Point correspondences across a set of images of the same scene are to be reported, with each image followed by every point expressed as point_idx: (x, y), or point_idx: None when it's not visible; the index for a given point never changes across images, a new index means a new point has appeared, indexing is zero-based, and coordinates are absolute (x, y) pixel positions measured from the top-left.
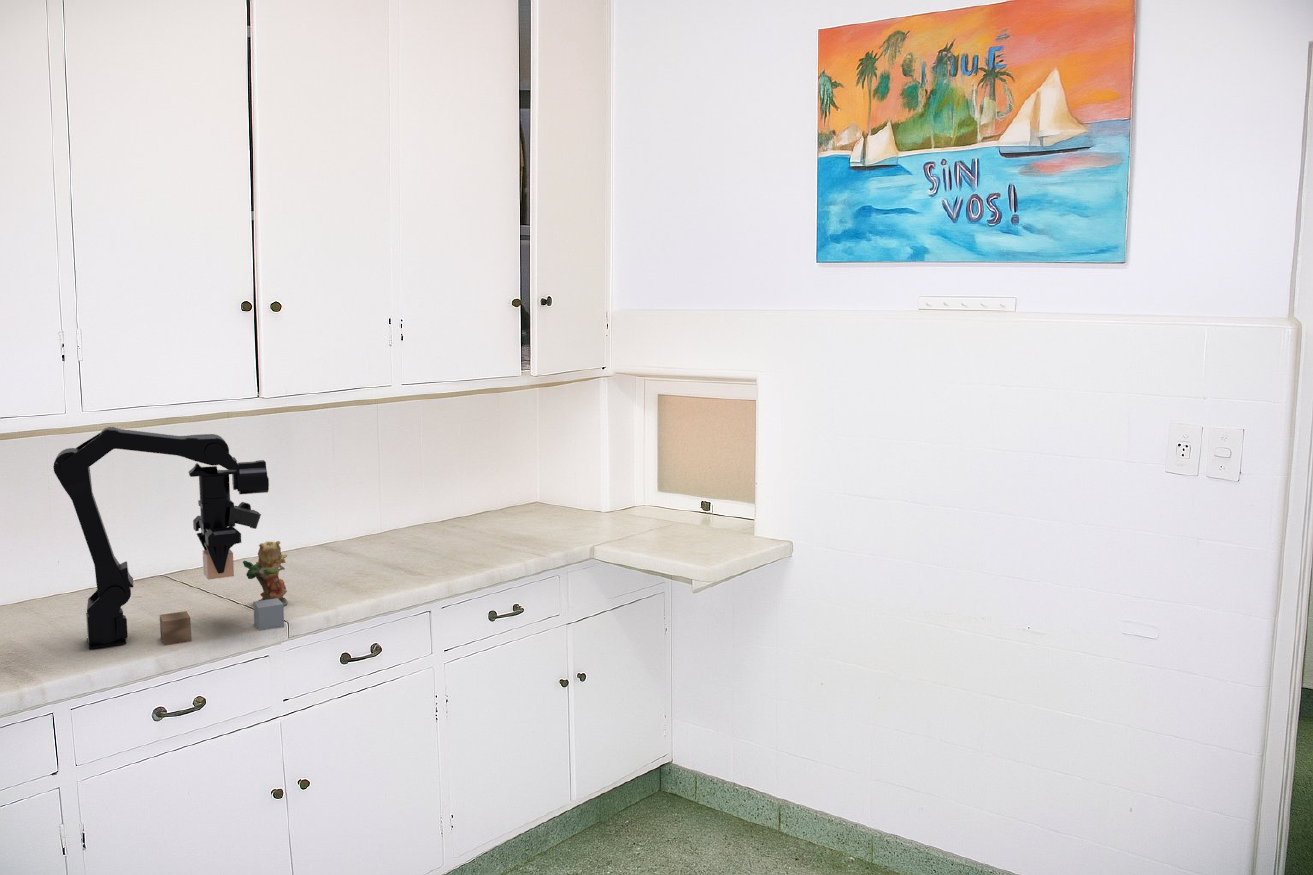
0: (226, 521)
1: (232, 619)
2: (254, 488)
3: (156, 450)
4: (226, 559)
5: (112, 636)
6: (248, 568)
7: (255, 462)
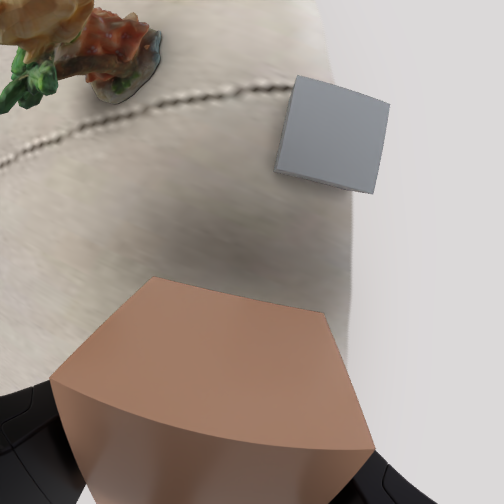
0: None
1: (180, 203)
2: None
3: None
4: (380, 456)
5: None
6: (19, 98)
7: None
